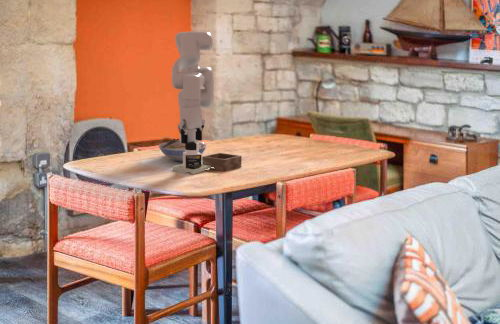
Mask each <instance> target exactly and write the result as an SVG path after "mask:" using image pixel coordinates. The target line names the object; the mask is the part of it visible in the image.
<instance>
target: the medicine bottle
mask: <svg viewBox="0 0 500 324" xmlns="http://www.w3.org/2000/svg"><path fill="white" fill-rule="evenodd" d="M185 151H186V152H183V162H182V164H183V168H188V169H197V168H201V167H202V154H203V153H202V154H201V153H199V152H198V151H199V143H198V142H195V141H189V142H188V143H187V144H185Z"/></svg>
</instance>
